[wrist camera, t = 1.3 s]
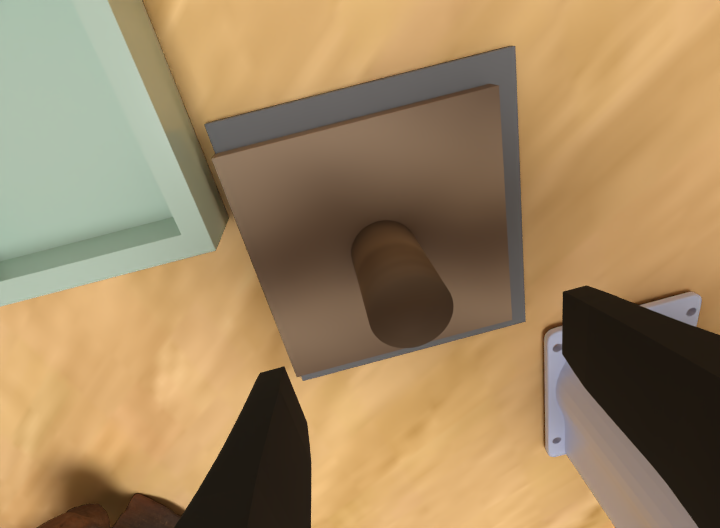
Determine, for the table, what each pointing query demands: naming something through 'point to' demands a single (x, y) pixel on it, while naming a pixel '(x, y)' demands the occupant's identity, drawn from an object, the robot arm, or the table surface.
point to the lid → (377, 227)
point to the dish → (94, 150)
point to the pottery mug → (137, 524)
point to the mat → (393, 94)
